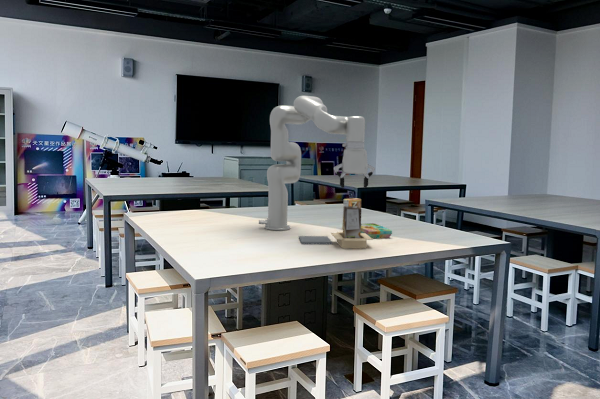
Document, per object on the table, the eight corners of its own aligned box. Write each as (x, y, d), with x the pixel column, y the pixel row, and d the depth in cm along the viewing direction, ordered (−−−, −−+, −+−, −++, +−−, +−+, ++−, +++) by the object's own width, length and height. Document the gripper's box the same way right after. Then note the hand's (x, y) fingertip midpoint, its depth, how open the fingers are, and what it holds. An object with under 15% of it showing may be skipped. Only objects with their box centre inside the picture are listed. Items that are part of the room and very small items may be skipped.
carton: (336, 249, 202) (337, 239, 201) (329, 240, 220) (330, 231, 219) (373, 249, 203) (374, 239, 203) (363, 240, 221) (363, 231, 221)
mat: (301, 244, 210) (301, 241, 210) (298, 238, 223) (298, 236, 223) (332, 244, 211) (332, 242, 211) (327, 238, 224) (327, 236, 224)
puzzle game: (368, 229, 225) (352, 222, 245) (368, 239, 226) (352, 231, 245) (392, 228, 228) (374, 221, 248) (391, 239, 229) (374, 231, 248)
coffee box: (360, 247, 207) (362, 209, 206) (345, 247, 207) (346, 208, 205) (356, 242, 216) (357, 206, 215) (341, 242, 216) (343, 205, 214)
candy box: (354, 227, 254) (355, 198, 253) (360, 229, 251) (361, 198, 249) (341, 229, 249) (343, 198, 247) (347, 230, 246) (349, 199, 244)
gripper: (336, 146, 202) (335, 188, 204) (377, 146, 204) (376, 188, 206) (332, 146, 210) (332, 186, 211) (373, 146, 211) (372, 187, 213)
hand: (353, 187), depth 209 cm, fingers open, 9 cm apart
